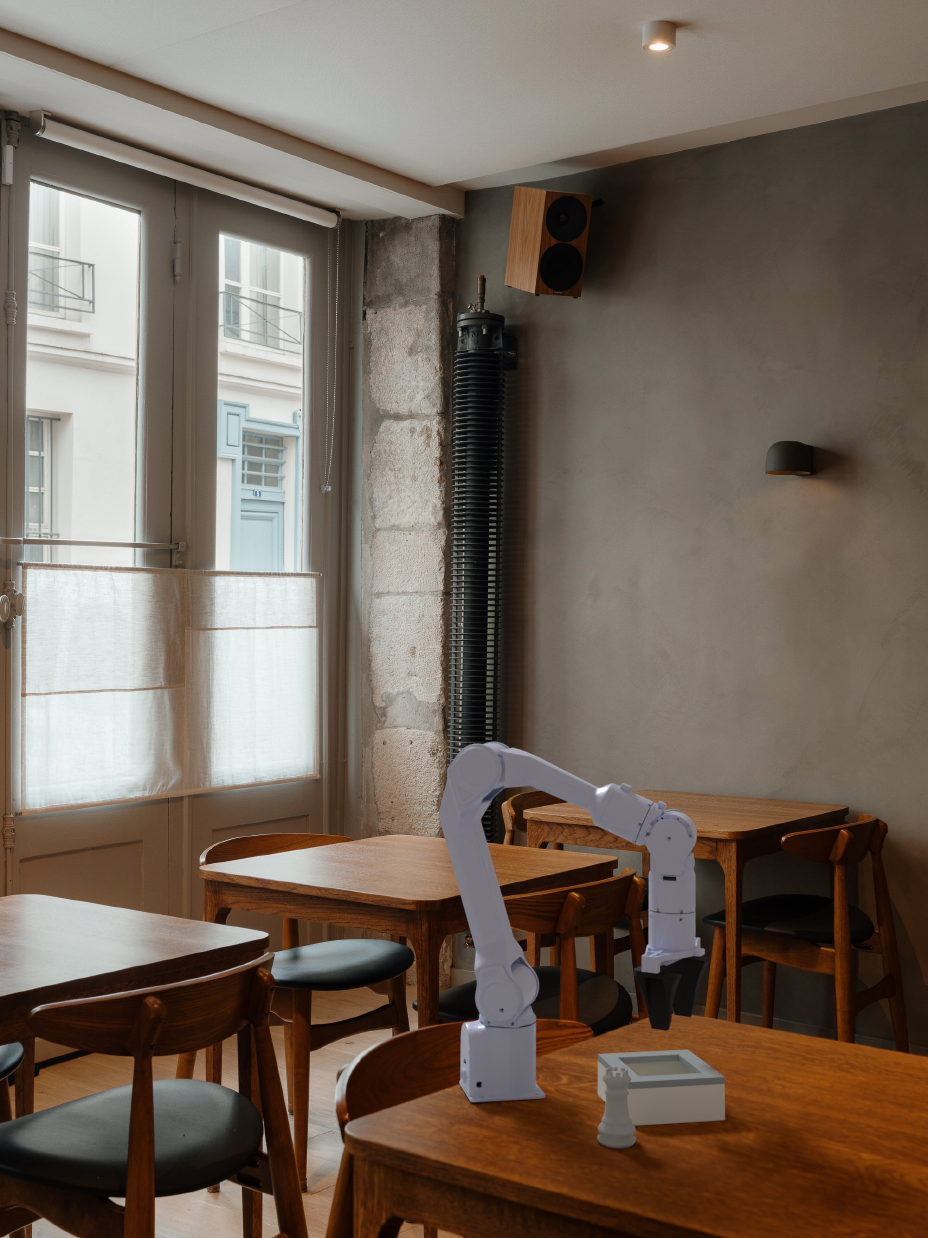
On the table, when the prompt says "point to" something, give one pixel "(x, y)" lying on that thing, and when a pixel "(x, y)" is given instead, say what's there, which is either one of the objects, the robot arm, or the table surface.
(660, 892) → the robot arm
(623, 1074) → the rook chess piece
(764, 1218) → the table surface
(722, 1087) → the piece box
